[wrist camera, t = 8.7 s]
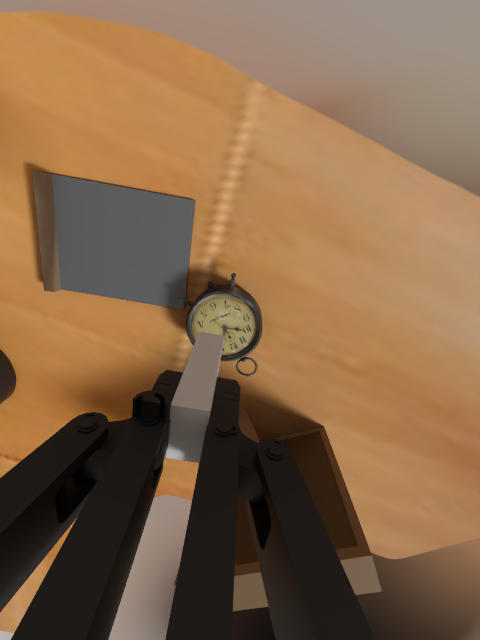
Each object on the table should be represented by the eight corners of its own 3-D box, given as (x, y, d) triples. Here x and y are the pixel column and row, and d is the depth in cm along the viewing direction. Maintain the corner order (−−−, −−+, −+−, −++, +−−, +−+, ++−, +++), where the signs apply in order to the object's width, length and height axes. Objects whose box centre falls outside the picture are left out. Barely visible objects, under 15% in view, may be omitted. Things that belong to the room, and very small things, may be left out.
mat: (56, 287, 43) (54, 288, 43) (46, 172, 37) (44, 172, 37) (184, 308, 44) (183, 309, 44) (195, 200, 38) (194, 200, 38)
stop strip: (52, 286, 43) (44, 290, 41) (42, 172, 37) (31, 170, 35) (62, 288, 43) (54, 292, 42) (54, 174, 37) (43, 172, 35)
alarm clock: (240, 271, 37) (283, 373, 41) (243, 265, 42) (281, 356, 46) (168, 301, 39) (216, 395, 43) (179, 292, 44) (221, 377, 48)
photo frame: (328, 443, 54) (388, 620, 31) (222, 465, 57) (203, 642, 34) (311, 380, 49) (368, 535, 26) (196, 408, 52) (152, 570, 29)
